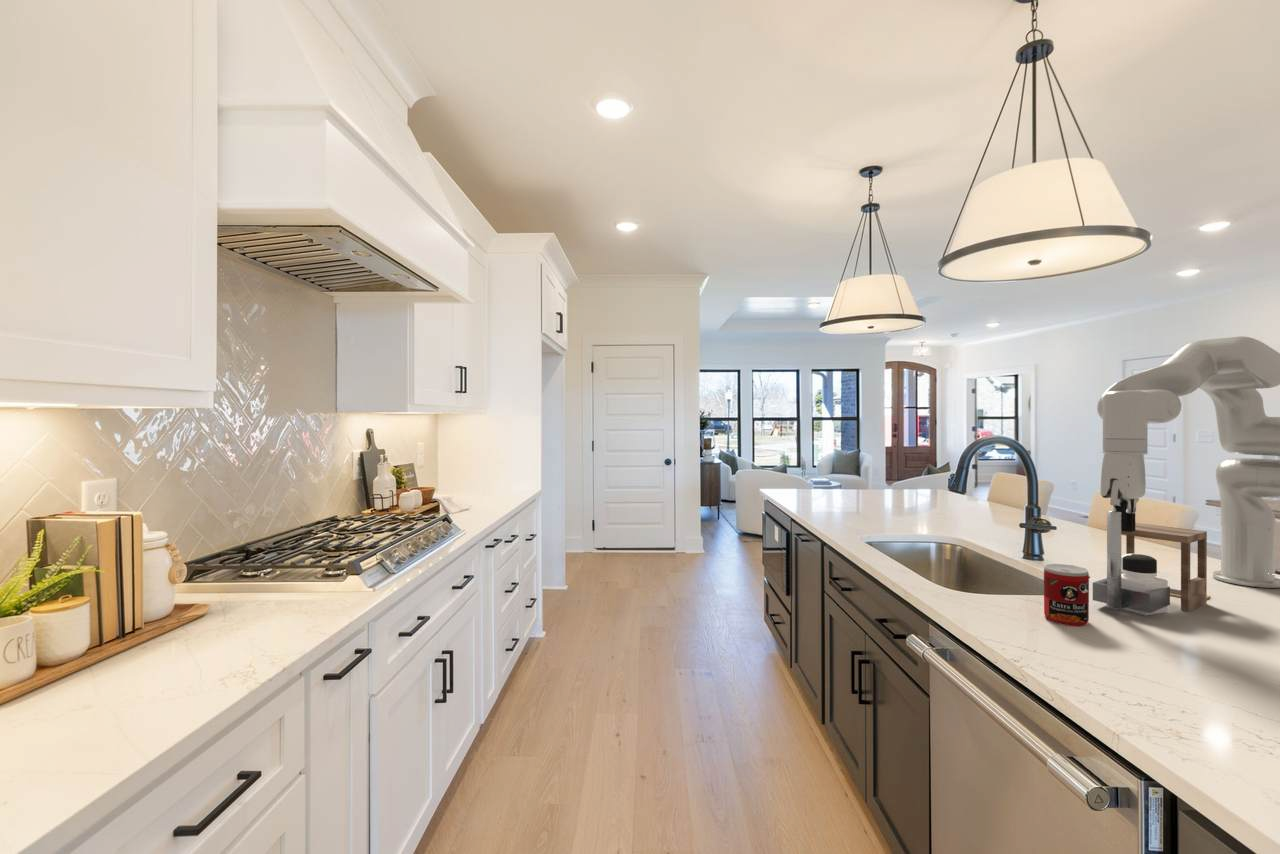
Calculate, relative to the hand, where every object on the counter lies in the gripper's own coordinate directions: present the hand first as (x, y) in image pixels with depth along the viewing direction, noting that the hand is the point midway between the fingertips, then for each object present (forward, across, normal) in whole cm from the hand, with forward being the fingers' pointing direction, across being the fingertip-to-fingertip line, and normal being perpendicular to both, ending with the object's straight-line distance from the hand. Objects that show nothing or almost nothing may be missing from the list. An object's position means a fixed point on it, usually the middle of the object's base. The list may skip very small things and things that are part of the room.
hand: (1124, 530), depth 126 cm
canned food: (+18, +17, -4) cm, 25 cm away
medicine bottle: (+18, -4, +1) cm, 19 cm away
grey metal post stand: (+16, -1, 0) cm, 16 cm away
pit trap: (+18, -25, 0) cm, 31 cm away
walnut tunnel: (+18, -16, 0) cm, 24 cm away
